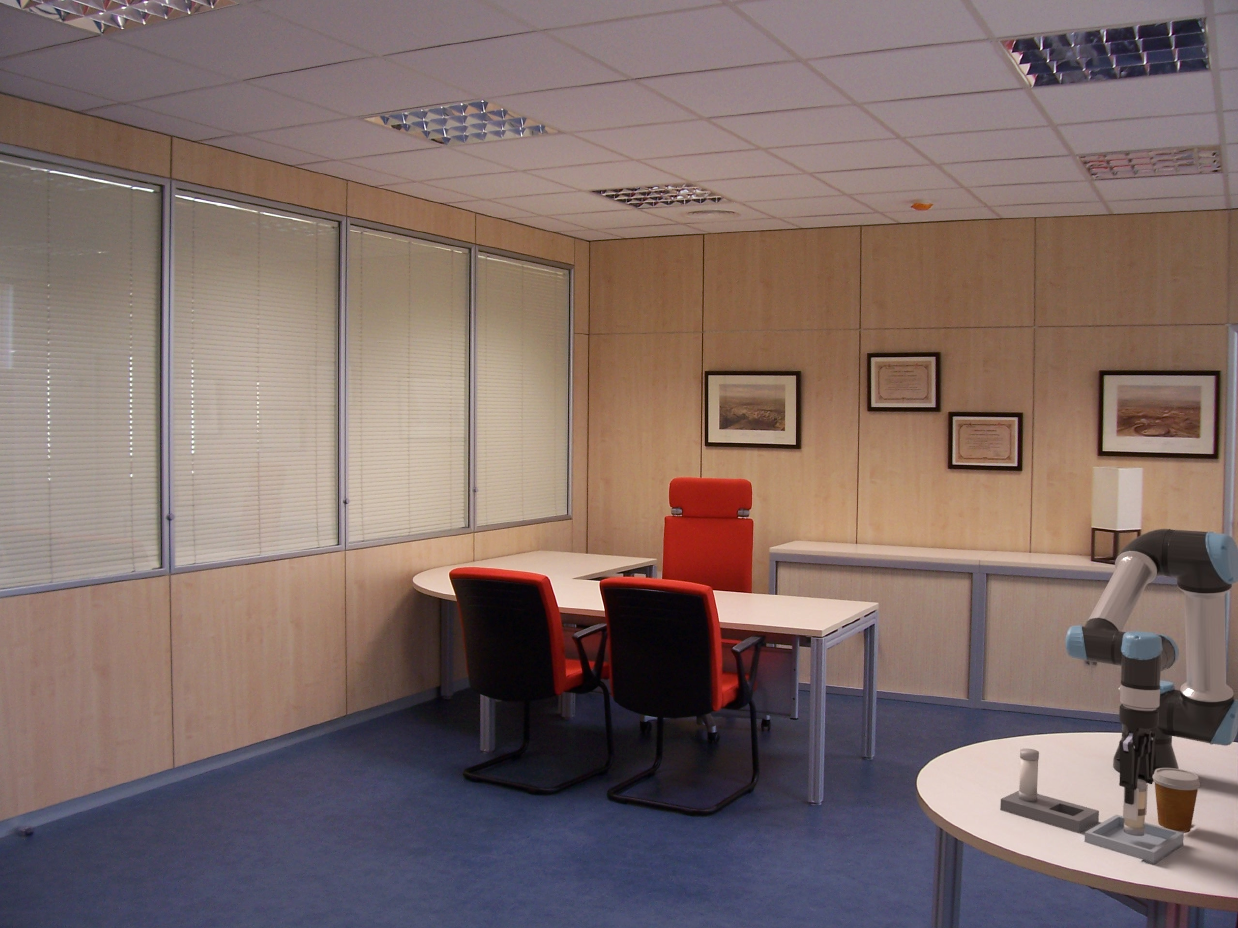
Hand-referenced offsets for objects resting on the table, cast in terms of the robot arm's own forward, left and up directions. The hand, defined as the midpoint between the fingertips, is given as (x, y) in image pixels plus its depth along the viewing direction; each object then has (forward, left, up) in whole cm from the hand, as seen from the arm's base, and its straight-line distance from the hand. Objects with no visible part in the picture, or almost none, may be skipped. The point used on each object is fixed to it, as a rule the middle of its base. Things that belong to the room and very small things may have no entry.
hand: (1134, 815), depth 228 cm
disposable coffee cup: (-17, +2, -6) cm, 18 cm away
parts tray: (0, 0, -6) cm, 6 cm away
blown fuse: (0, 0, -4) cm, 4 cm away
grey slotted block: (-1, -19, -6) cm, 20 cm away
